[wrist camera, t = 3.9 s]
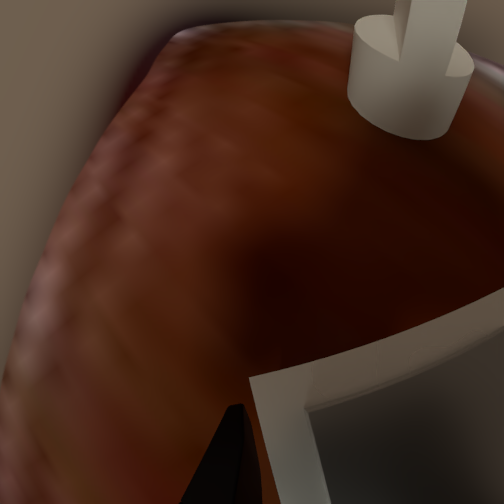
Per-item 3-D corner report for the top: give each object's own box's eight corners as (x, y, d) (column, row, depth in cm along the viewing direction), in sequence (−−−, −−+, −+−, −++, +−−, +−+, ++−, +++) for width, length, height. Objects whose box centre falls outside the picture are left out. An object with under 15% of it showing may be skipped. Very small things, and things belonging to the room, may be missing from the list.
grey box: (374, 439, 13) (579, 506, 1) (294, 463, 13) (320, 650, 1) (355, 364, 14) (542, 262, 3) (274, 388, 14) (240, 374, 3)
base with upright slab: (351, 62, 24) (360, -55, 14) (443, 87, 23) (475, -22, 12) (341, 122, 21) (357, -36, 10) (456, 154, 19) (517, 18, 8)
